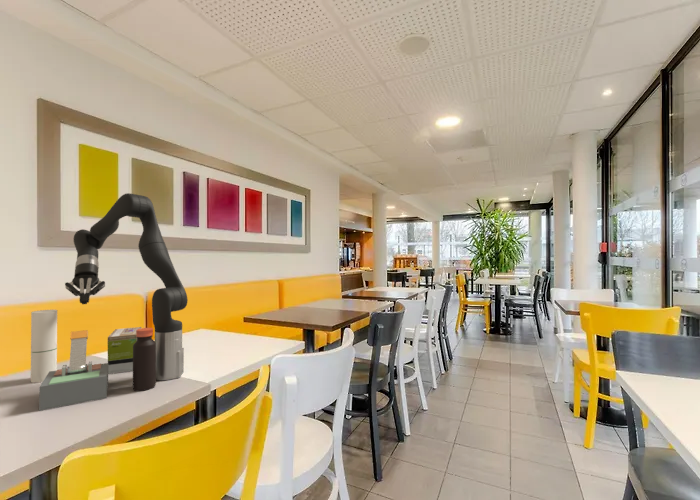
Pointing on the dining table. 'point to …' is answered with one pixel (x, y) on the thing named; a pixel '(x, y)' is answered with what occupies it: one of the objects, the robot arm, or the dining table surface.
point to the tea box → (121, 350)
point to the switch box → (73, 386)
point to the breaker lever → (78, 352)
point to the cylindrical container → (43, 344)
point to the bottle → (144, 360)
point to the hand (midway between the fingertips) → (84, 303)
